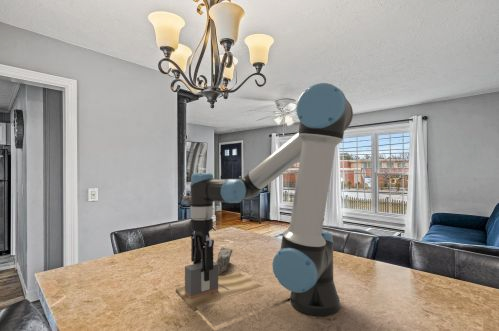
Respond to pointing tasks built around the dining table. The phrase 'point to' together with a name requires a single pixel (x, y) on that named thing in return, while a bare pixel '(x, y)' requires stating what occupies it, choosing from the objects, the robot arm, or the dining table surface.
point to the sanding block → (199, 280)
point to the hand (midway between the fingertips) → (201, 286)
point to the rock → (223, 259)
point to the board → (221, 289)
